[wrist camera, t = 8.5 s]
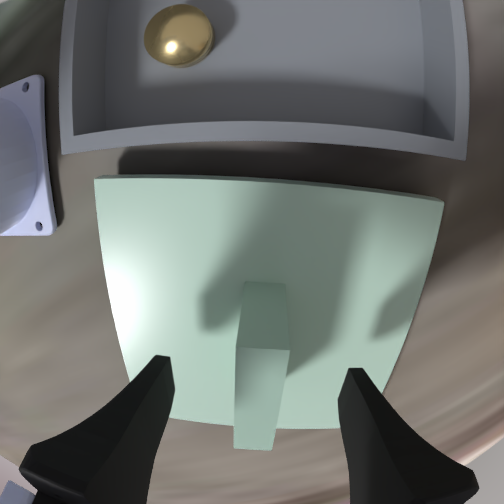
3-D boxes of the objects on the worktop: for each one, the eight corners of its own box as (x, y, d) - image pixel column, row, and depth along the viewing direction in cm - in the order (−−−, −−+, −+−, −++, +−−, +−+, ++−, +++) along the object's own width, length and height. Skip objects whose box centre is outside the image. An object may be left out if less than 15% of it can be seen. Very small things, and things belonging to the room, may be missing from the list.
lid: (145, 396, 18) (120, 462, 13) (109, 172, 13) (32, 208, 8) (361, 410, 18) (376, 478, 13) (429, 193, 12) (502, 239, 7)
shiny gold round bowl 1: (154, 72, 10) (143, 68, 9) (155, 18, 9) (144, 10, 8) (215, 65, 10) (210, 59, 9) (215, 10, 9) (209, 0, 8)
